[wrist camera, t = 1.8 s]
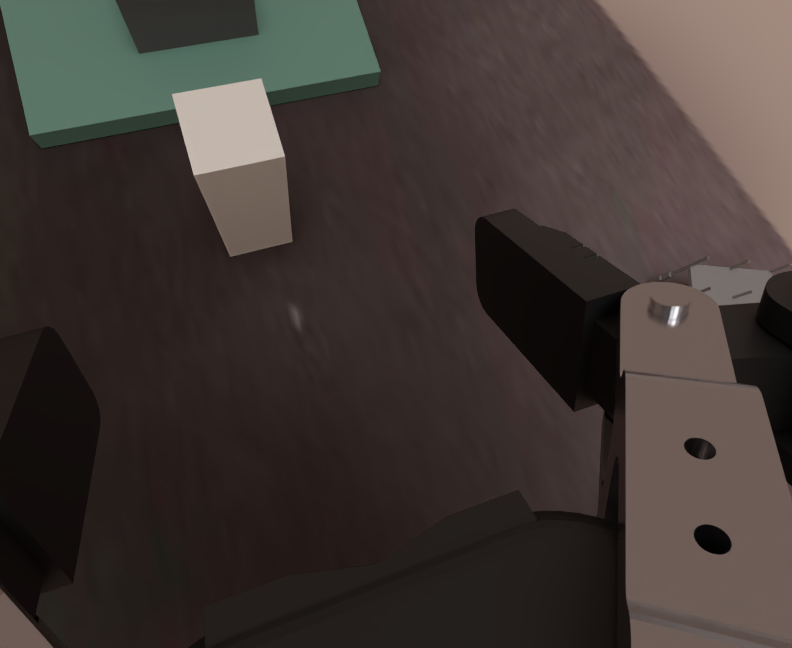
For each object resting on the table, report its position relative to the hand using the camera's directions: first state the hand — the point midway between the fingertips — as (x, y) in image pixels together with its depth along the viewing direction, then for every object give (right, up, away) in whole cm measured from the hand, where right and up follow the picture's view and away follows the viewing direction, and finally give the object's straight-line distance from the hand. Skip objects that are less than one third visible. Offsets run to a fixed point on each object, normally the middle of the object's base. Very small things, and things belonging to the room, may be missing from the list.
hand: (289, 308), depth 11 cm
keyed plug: (-7, +6, +24) cm, 26 cm away
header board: (-12, +21, +26) cm, 36 cm away
